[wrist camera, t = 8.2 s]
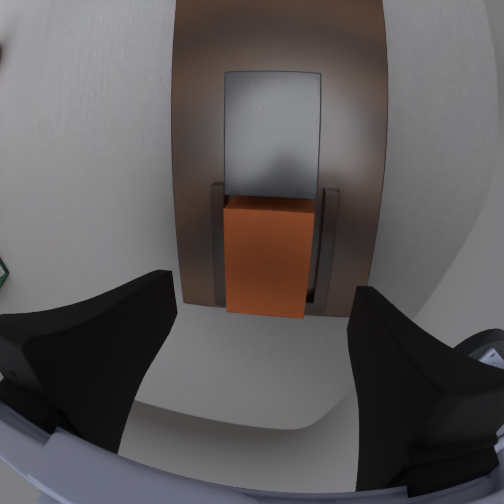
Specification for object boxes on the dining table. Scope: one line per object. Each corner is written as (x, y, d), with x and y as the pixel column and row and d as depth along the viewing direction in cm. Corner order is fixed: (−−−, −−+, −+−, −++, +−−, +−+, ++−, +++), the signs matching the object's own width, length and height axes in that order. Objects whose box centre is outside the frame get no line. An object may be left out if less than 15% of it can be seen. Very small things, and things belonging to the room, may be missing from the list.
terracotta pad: (303, 285, 18) (303, 319, 14) (238, 280, 18) (226, 312, 15) (311, 196, 15) (314, 213, 12) (238, 192, 16) (223, 208, 13)
